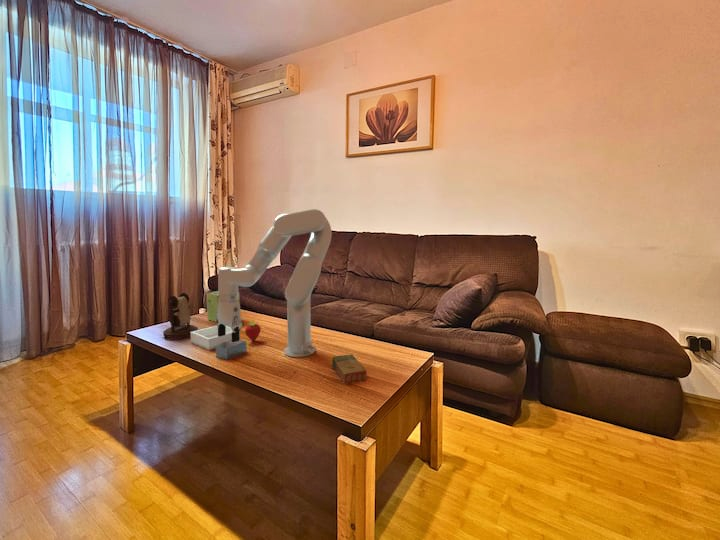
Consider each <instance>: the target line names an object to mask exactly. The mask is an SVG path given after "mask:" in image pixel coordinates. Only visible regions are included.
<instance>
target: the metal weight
mask: <svg viewBox="0 0 720 540" xmlns="http://www.w3.org/2000/svg"><path fill="white" fill-rule="evenodd" d="M247 351H248V350H247V340H244V339H241V338H240V339H239V341H236V342H232V340H229V341H227V342H224V343H221V344H218V345H216V349H215V357H216V358H218V357H219V358H218V359H223V360H226V361H228V359H229V360H230V359H233V358H235V356H236V357H238V356H240V355H243V354H245V353H247Z"/></svg>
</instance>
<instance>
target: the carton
mask: <svg viewBox="0 0 720 540" xmlns="http://www.w3.org/2000/svg"><path fill="white" fill-rule="evenodd" d="M331 361H332V363H331V366H332V368H333V370H336V371H335V372H336V374H337V375H338V378H339V379H340V380H341V382H342V383H343V382H344V383H343V384H344V385H347V384H346V383H349V384H353V383H352V382H356V383H360V382H359V381H362V382H366V381H367V370H366V369H365V367H364V366H363V365H362V364H361V362H360V361H359V360H358V359H357V358H356V357H355V356H354V355H353V354H345V355H338V356H332V360H331ZM365 380H366V381H365Z"/></svg>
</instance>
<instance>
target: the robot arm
mask: <svg viewBox="0 0 720 540" xmlns="http://www.w3.org/2000/svg"><path fill="white" fill-rule="evenodd" d="M331 227H332V226H331V224H330V222H329V220H328V219H327V217H326V215H325V214H324V212H322V211H321V210H320V209H315V208H312V209H307V210H300V211H296V212H289V213H282V214H279V215H277V216H276V217H275V219H274V221H273V224H272V226H271V227H270V229H268V231H267V233H266V234H265V235H264V236H263V237H262V239H261V240H260V242H259V243H258V246H257V250H256V251H255V253H254V254H253V256H252V257H251V259H250V261H249V262H248V263H247V264H246V265H245V267H243V268H237V267H234V266H222V267H219V269H218V271H217V276H218V277H217V280H218V281H217V283H218V284H217V286H218V289H217V291H218V302H219V303H218V314H216V315H215V316H216V319H217V320H216V322H215V323H216V326H218V336H219V337H220V336H224V335H226V326H228V327H231V329H232V331H233V332H232V342H236V341H239V331H240V332H241V329H242V327H243V325H244V324H243V321H242V315H241V314H242V313H241V303H240V304H239V302H238V293H239V287H242V288H250V287H252V286H253V285H255V284H256V282H258V281H259V279H260V278H261V277H262V276H263V274H264V273H265V271H266V270H267V269H268V267H269V266H270V265H271V263H272V262H273V261H274V260H275V259H276V258H277V257H278V256H279V254H280V252H282V251H283V249H284V247H285V246H286V245H287V243H288V242H289V240H291V238H292V236H298V235H299V236H300V235H304V234H309V233H310V236H309V239H308V241H307V243H306V246H305V248H304V251H303V253H302V254H301V256H300V258H299V260H298V261H297V263H296V265H295V268H294V269H293V273H292V275H291V277H290V279H289V281H288V284H286V285H287V286H286V287H285V290H284V297H285V300H286V301H287V302H286V307H287V308H286V312H287V313H286V314H287V316H286V317H287V318H286V319H287V320H286V322H287V324H286V325H287V346H286V347H285V348H284V349H283V353H284V355H285V356H288V357H290V358H303V357H308V356H311V355H312V354H314V353H315V351H316V350H317V346H313V342H312V340H311V337H312V336H311V335H312V334H311V326H312V325H311V299H312V298H311V295H312V292H313V290H314V288H315V286H316V285H317V282H318V280H319V277H320V275H321V271H322V264H323V262H324V260H325V258H326V255H327V252H328V250H329V247H330V245H331V241H332V237H333V236H332V235H333V234H332V228H331ZM224 325H225V326H224Z"/></svg>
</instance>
